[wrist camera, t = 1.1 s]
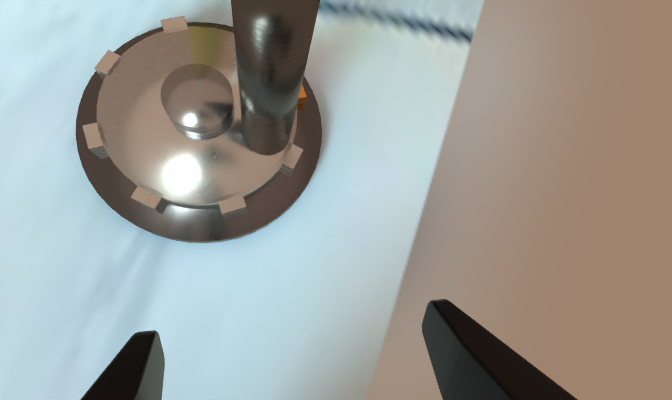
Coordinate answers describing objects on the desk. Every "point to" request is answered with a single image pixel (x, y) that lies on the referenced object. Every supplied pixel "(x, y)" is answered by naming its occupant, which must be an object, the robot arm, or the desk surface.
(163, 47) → the sprocket
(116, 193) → the base plate
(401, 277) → the desk surface
